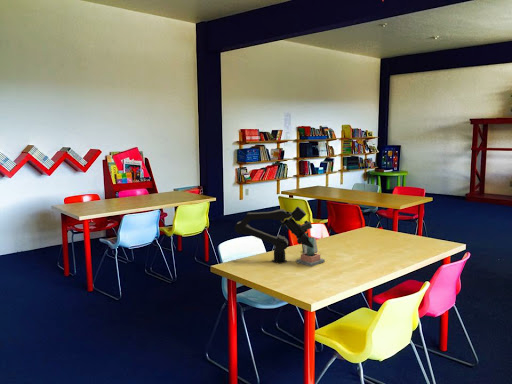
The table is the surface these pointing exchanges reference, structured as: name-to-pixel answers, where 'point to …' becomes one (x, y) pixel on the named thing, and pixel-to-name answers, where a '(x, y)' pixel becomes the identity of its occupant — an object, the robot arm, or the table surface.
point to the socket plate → (310, 259)
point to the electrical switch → (306, 247)
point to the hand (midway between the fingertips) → (312, 246)
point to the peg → (310, 250)
